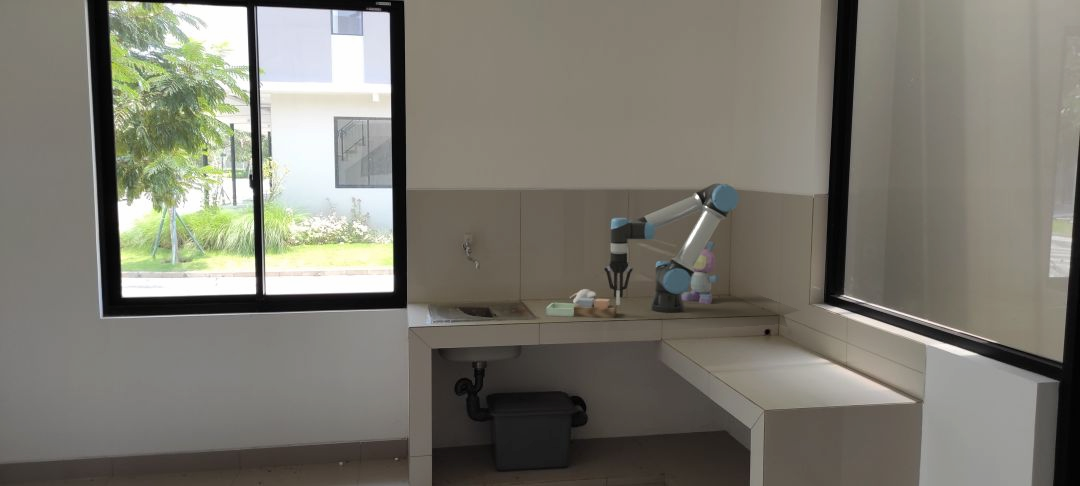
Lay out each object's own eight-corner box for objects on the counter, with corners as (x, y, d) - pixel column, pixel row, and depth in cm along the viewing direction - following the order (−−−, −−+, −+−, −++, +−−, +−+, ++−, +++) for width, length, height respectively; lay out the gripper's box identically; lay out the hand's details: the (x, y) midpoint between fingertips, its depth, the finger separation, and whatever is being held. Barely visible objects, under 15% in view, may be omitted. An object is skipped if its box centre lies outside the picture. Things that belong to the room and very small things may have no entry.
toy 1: (575, 312, 384) (572, 311, 369) (569, 296, 385) (566, 294, 370) (600, 303, 382) (598, 302, 368) (594, 286, 384) (592, 284, 369)
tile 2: (609, 305, 358) (609, 299, 358) (607, 307, 352) (607, 301, 352) (596, 304, 359) (596, 298, 359) (594, 307, 354) (594, 300, 353)
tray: (578, 311, 365) (578, 303, 365) (573, 316, 353) (573, 309, 352) (552, 310, 368) (552, 302, 368) (545, 315, 356) (545, 307, 355)
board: (616, 313, 360) (616, 304, 359) (613, 317, 350) (613, 309, 350) (577, 311, 364) (577, 303, 363) (573, 316, 354) (573, 307, 354)
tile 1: (594, 304, 360) (594, 298, 359) (591, 307, 354) (592, 300, 353) (581, 304, 361) (581, 297, 361) (578, 306, 355) (578, 300, 355)
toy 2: (678, 299, 395) (679, 240, 391) (691, 296, 402) (692, 238, 399) (708, 304, 381) (710, 243, 378) (721, 301, 389) (723, 241, 386)
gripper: (634, 251, 353) (633, 303, 356) (605, 251, 356) (605, 302, 359) (632, 253, 346) (631, 306, 349) (603, 253, 349) (602, 305, 352)
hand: (618, 304), depth 354 cm, fingers closed
